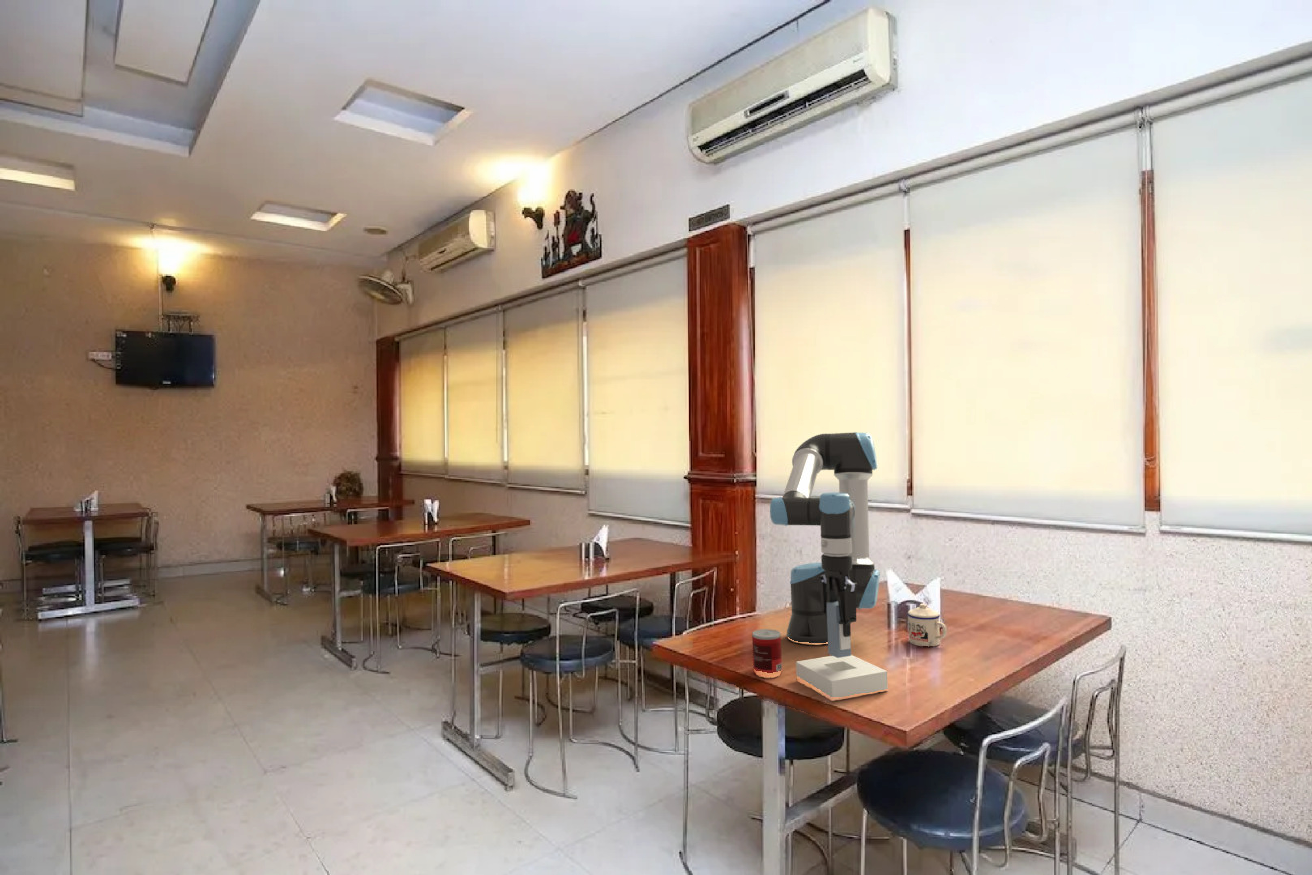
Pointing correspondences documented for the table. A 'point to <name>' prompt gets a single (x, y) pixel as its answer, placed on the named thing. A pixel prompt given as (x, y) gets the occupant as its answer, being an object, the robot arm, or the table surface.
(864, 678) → the socket block
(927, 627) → the teacup with lid
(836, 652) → the peg
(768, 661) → the canned food
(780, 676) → the table surface
